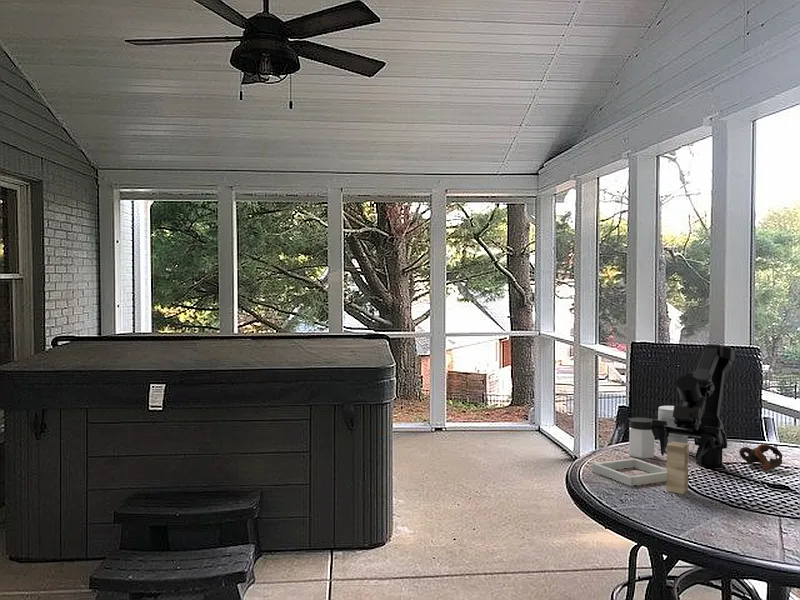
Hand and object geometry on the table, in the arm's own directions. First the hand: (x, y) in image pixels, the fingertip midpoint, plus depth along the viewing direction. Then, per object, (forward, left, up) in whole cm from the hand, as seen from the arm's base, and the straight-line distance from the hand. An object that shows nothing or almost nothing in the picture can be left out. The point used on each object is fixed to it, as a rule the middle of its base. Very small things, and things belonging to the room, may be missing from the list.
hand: (678, 457), depth 193 cm
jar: (-7, -37, -9) cm, 39 cm away
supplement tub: (-21, -43, -9) cm, 49 cm away
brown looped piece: (-38, -20, -10) cm, 44 cm away
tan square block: (+1, +1, -9) cm, 9 cm away
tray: (+7, -14, -9) cm, 18 cm away
